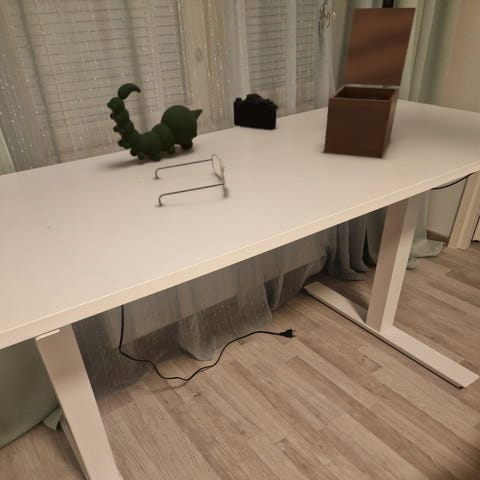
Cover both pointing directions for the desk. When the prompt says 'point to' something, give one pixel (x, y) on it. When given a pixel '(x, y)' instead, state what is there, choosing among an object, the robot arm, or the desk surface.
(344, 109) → the chest
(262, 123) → the film camera
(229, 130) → the desk surface
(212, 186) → the eyeglasses
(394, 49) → the lid
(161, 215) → the desk surface
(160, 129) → the toy figurine
